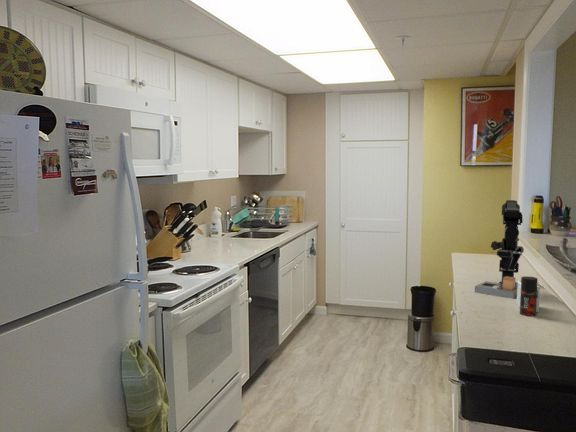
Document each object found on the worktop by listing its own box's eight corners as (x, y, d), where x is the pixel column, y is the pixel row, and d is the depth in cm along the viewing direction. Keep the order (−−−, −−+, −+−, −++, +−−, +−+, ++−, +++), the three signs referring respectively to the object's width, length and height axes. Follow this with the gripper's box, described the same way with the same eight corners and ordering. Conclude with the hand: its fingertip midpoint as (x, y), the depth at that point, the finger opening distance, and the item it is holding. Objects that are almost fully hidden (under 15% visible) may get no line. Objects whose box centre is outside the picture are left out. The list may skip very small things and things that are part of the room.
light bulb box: (539, 312, 212) (540, 286, 211) (521, 311, 213) (522, 286, 212) (532, 305, 222) (533, 281, 221) (515, 304, 223) (516, 280, 222)
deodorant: (535, 313, 211) (536, 277, 209) (536, 317, 205) (538, 280, 204) (519, 311, 213) (521, 276, 211) (520, 315, 207) (521, 278, 206)
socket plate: (485, 287, 256) (486, 279, 256) (523, 293, 244) (523, 285, 244) (474, 292, 246) (474, 284, 246) (513, 298, 234) (513, 290, 233)
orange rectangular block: (505, 292, 245) (506, 276, 244) (514, 294, 242) (515, 277, 242) (502, 294, 242) (503, 277, 241) (511, 295, 239) (512, 278, 238)
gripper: (500, 233, 252) (499, 264, 253) (486, 236, 238) (484, 269, 239) (524, 235, 244) (523, 267, 246) (511, 238, 230) (509, 273, 232)
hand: (509, 269), depth 241 cm, fingers open, 8 cm apart
